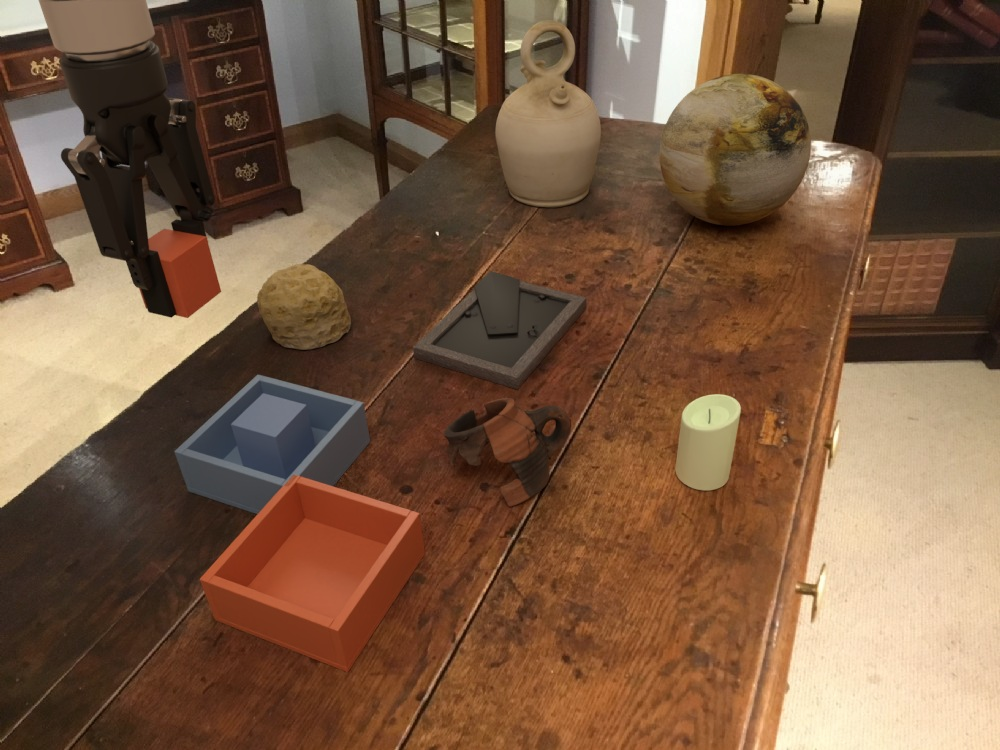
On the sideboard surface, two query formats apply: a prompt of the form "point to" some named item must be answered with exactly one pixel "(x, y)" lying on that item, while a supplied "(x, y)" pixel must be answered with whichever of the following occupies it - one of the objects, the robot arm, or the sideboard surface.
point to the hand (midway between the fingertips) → (182, 297)
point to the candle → (707, 441)
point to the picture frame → (501, 330)
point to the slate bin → (225, 479)
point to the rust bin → (316, 570)
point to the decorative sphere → (735, 149)
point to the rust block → (186, 269)
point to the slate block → (274, 435)
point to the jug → (548, 130)
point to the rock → (303, 308)
